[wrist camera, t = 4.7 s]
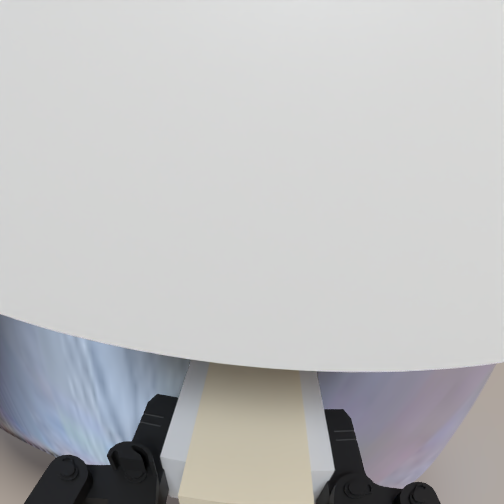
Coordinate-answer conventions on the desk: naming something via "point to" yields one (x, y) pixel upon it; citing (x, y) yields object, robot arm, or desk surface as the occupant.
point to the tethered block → (248, 440)
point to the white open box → (257, 179)
